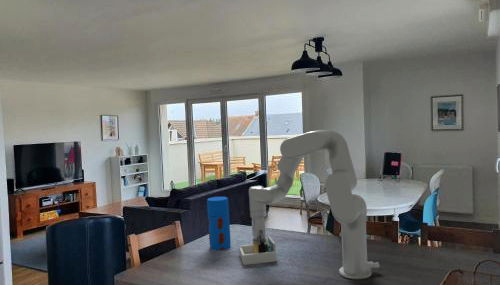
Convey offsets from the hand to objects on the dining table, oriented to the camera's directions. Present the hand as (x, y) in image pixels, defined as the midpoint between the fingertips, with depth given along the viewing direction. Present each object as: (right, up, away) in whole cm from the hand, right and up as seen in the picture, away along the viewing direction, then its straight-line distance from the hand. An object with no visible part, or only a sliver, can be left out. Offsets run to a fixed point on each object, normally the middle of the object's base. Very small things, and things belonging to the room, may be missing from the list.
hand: (260, 249), depth 179 cm
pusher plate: (+4, -2, +1) cm, 4 cm away
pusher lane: (-1, -4, 0) cm, 4 cm away
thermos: (-20, -4, +19) cm, 28 cm away
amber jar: (0, -3, 0) cm, 3 cm away
